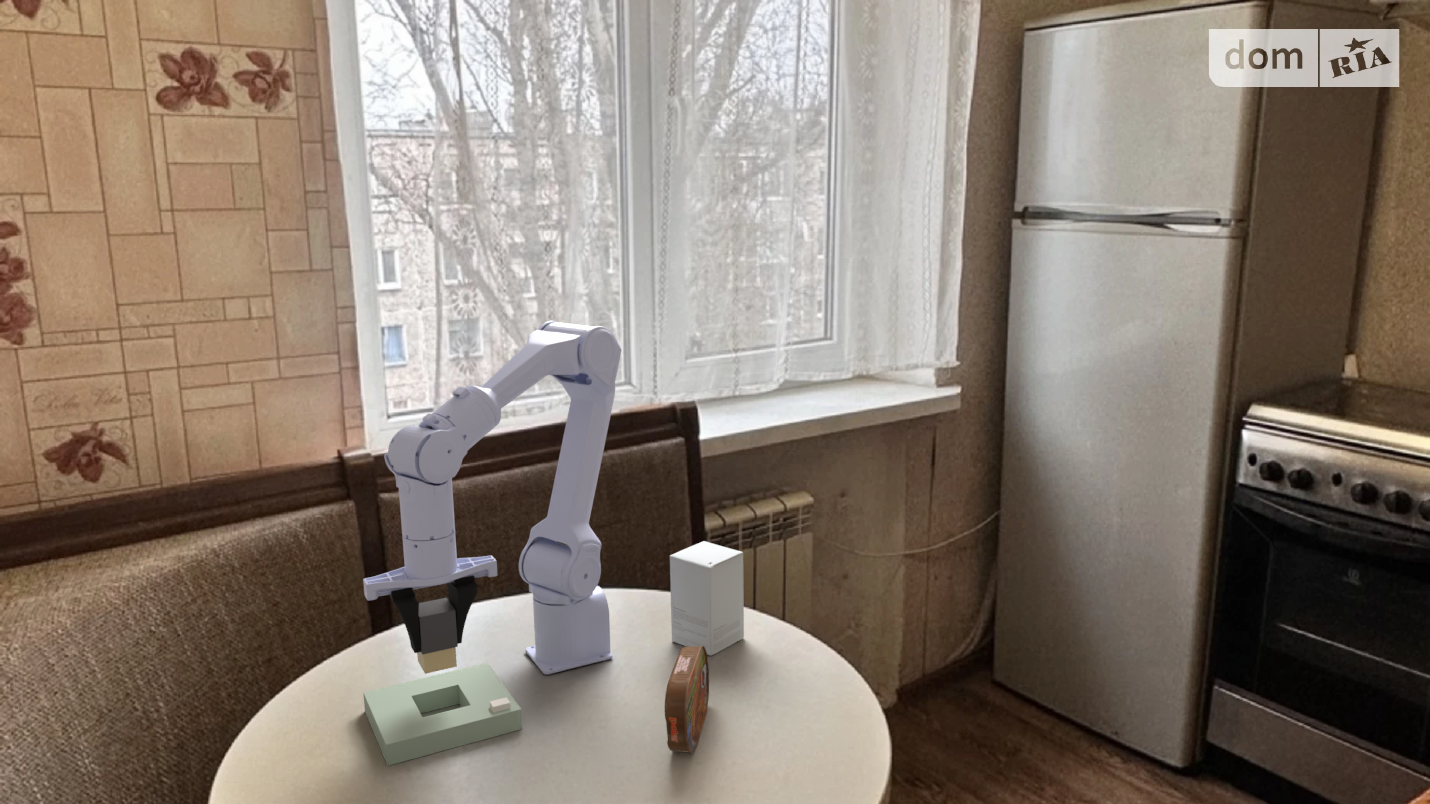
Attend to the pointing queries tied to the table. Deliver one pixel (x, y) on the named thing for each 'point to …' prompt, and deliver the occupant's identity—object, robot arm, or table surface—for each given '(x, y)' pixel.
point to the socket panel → (417, 736)
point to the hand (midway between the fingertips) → (436, 644)
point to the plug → (437, 635)
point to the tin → (687, 699)
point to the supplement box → (707, 596)
